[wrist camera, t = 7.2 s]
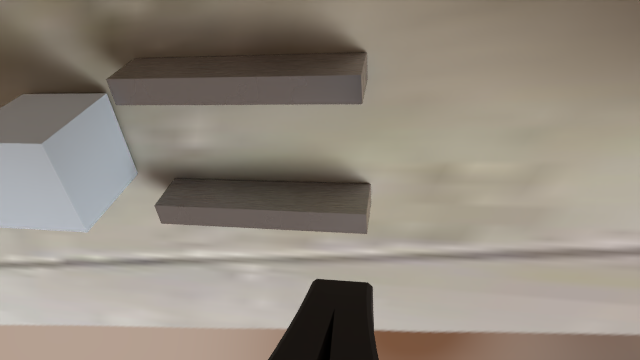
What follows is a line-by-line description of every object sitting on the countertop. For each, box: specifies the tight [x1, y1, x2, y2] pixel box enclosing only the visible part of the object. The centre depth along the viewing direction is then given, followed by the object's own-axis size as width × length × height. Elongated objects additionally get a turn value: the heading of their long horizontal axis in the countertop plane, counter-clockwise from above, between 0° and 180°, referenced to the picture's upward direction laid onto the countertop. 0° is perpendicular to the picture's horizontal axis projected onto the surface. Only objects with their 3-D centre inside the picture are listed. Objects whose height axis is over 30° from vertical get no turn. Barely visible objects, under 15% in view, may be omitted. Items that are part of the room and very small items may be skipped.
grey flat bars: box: [106, 53, 371, 234], centre depth 18 cm, size 9×7×2 cm
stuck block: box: [0, 93, 138, 232], centre depth 18 cm, size 4×4×4 cm
